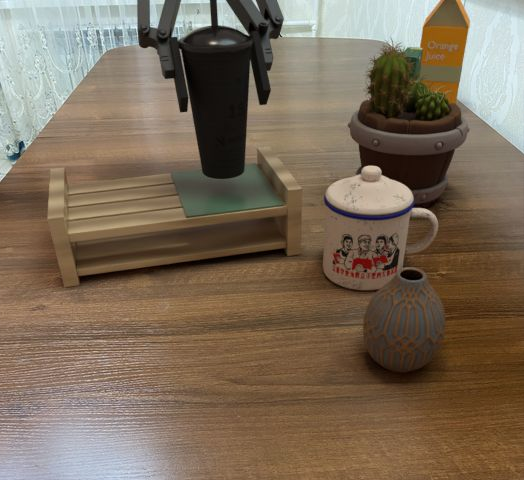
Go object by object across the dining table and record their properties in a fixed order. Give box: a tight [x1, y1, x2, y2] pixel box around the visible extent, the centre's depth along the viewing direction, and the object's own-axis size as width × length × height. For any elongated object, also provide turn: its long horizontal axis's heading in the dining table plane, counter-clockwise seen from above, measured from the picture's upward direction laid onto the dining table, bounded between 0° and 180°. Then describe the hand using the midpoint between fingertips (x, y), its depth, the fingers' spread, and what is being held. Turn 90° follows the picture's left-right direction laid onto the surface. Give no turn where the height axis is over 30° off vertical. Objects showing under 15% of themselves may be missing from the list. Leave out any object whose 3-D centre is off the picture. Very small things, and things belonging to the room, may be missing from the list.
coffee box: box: [402, 46, 423, 81], centre depth 99 cm, size 8×3×13 cm, turn 160°
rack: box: [46, 145, 303, 288], centre depth 71 cm, size 14×27×8 cm, turn 104°
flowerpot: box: [347, 36, 470, 209], centre depth 77 cm, size 14×15×20 cm
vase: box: [362, 266, 447, 373], centre depth 52 cm, size 7×7×9 cm
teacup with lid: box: [322, 166, 439, 291], centre depth 63 cm, size 12×9×12 cm
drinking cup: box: [178, 0, 254, 179], centre depth 63 cm, size 8×8×20 cm
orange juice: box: [419, 0, 471, 105], centre depth 108 cm, size 8×9×20 cm
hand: (225, 101), depth 62 cm, fingers closed on drinking cup, 8 cm apart
